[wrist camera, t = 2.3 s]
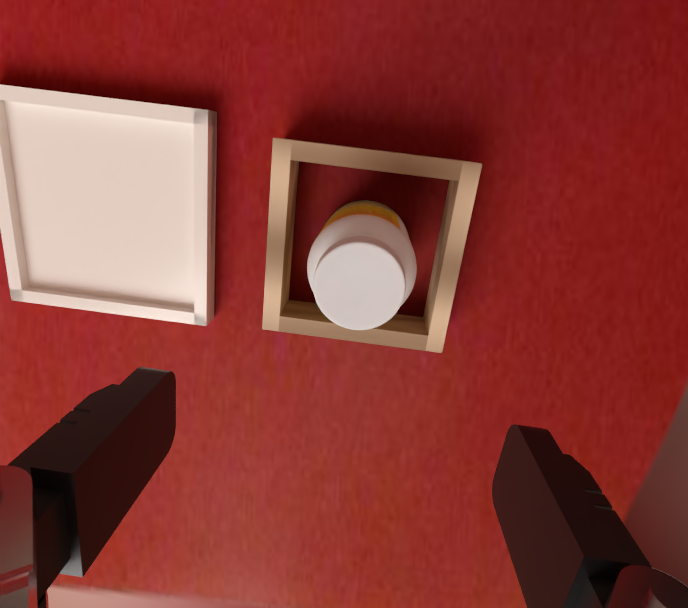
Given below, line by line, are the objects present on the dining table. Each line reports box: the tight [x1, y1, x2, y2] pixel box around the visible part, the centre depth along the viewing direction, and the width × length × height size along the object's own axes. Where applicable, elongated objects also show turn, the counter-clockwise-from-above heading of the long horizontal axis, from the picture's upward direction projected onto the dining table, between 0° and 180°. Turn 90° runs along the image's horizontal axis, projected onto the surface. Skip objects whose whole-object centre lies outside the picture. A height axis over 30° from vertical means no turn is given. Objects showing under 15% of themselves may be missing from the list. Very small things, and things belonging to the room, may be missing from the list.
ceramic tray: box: [0, 84, 217, 326], centre depth 27 cm, size 13×13×2 cm
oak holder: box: [262, 138, 482, 353], centre depth 26 cm, size 11×11×3 cm
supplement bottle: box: [307, 201, 417, 330], centre depth 23 cm, size 5×5×10 cm
